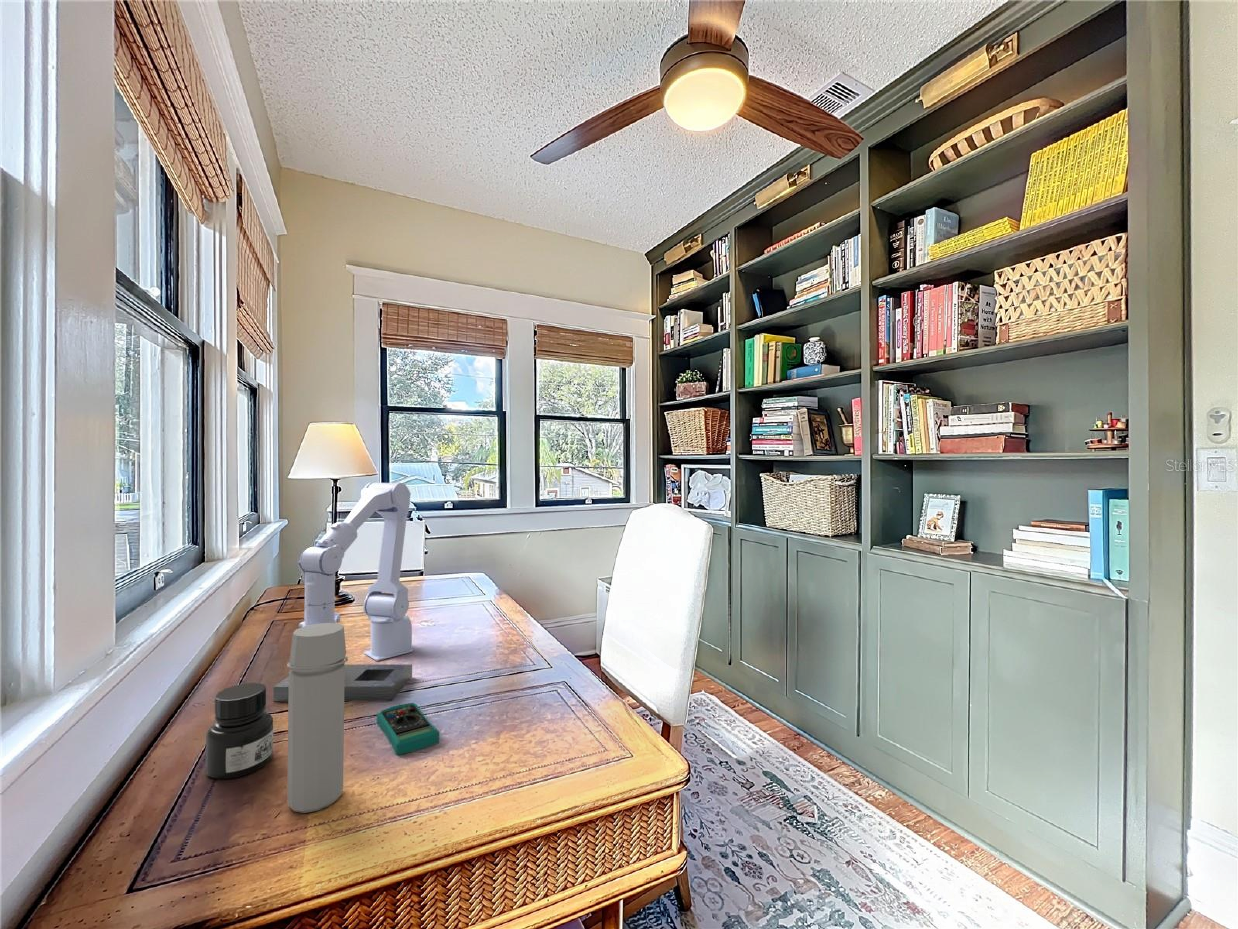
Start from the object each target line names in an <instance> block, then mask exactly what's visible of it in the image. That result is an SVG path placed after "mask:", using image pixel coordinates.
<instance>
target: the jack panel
mask: <svg viewBox="0 0 1238 929" xmlns="http://www.w3.org/2000/svg"><path fill="white" fill-rule="evenodd" d="M412 678H413V664H411V663H410V664H409V663H408V664H395V663H394V664H392V663H391V664H386V663H385V664H377V663H376V664H373V663H372V664H370V663H369V664H365V663H364V664H362V663H361V664H360V663H359V664H345V674H344V702H381V701H382V702H392V701H393V700H394V699H395V698H396V697H397V696H398V694H400V692H402V690H403V689H404V688H405V687H406V685H407V684H408V683H409V682H410V681H411V679H412ZM288 696H289V676H287V677H285V678H284V679H282V680H281V681H280V682H278V683H277V684H275V685H274V686H273V702H288Z"/></svg>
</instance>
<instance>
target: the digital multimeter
mask: <svg viewBox="0 0 1238 929" xmlns="http://www.w3.org/2000/svg"><path fill="white" fill-rule="evenodd" d="M376 724H377V726H378V727H379V728H380V730H382V732H383V733H384V735H385V736H386V738H387V739H388V742H389V743H390V744H391V746H392V749H393V750H394V753H395V755H397V756H401V755H405V754H408V753H412V751H413V752H416V751H419V750H418V749H420V750H423V749H426V748H428V747H427V746H429V747H431V746H434V745H436V744H435V743H437V744H438V743H440V731H439V729H437V727H435V726H434V725H433V724H432V723H431V722H430V721H429V719H428V718H427V717H426V715H424V713H423V712H422V711H421V709H420V708H419V706H418V705H417V704H416V702H411V703H409V702H408V703H404V704H398V705H393V706H391V707H387V708H384V709H382V710H380V711H379V712H378V713H377V714H376ZM433 744H434V745H433ZM425 747H426V748H425ZM422 748H423V749H422ZM415 750H416V751H415ZM404 753H405V754H404Z"/></svg>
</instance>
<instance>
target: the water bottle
mask: <svg viewBox="0 0 1238 929" xmlns="http://www.w3.org/2000/svg"><path fill="white" fill-rule="evenodd" d="M291 637H292V638H291V646H290V655H289V662H287V664H286V666H287V668H288V669H289V672H288V677H289V696H288V701H287V703H288V704H287V706H288V711H287V715H288V716H287V717H288V718H287V722H288V723H287V724H288V725H287V786H286V787H287V794H286V795H287V796H286V797H287V798H286V799H287V803H286V804H287V805H288V806H289V807H290V809H291V810H292V811H293V812H296V813H303V814H305V813H312V812H317V811H318V812H319V811H320V810H322V809H324V808H327V807H329V806H331V805H332V804H333V803H335V801H337V800H338V799H339V798H340V797H341V795H342V793H343V789H344V759H345V758H344V756H345V755H344V752H345V751H344V750H345V749H344V746H345V744H344V742H345V740H344V739H345V737H344V736H345V734H344V733H345V732H344V731H345V723H344V722H345V701H344V674H345V665H346V664H345V663H347V662H348V661H349V657H347V656H346V655H347V647H346V636H345V626H344V625H343V624H341V623H339V622H338V623H320V624H313V625H308V626H304V627H299V628H297V629H295V630H294V631H293V632H292V636H291Z"/></svg>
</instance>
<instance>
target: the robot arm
mask: <svg viewBox="0 0 1238 929" xmlns="http://www.w3.org/2000/svg"><path fill="white" fill-rule="evenodd" d="M410 502H411V491H410V490H409V488H408V486H407V485H406V484H405V483H404V482H394V483H393V482H375V481H374V482H373V481H371V482H368V483H367V484H366V485H365V486H364V488H362V490H361V491H360V499H359V500H358V502H357V503H356V505H355V506H353V508H352V510H351V511H350V513H349V514H348V515H347V516H346V518H345V519H344V521H337V522H335V523H332V524H331V526H330V529H329V530H328V531H327V532H326V533H325V534H324V535H323V536H322V538H320V540H318V541H317V543H316V544H315V545H314V546H311V547H308V548H306V550H304V551H303V552H302V553H301V555H300V558H299V561H297V566H298V569H299V571H300V572H301V577H302V580H303V582H304V616H303V617H304V618H303V619H304V621H301V622H300V623H298V627H299V628H301V627H304V626H308V625H313V624H320V623H338V624H339V623H340V622H341V613H338V612H335V611H336V610H335V606H336V605H335V604H336V598H335V597H336V596H335V595H336V588H335V587H336V572H338V571H339V570H340V568H341V566H342V563H343V559H344V557H345V553H346V552H347V550H348V549H349V548H350V547H351V546H352V544H353V543H354V542H355V541H356V540H357V538H358V531H357V530H359V528H361V526H362V525H363V524H364V523H365V522H366V521H367V520H368V519H369V518H370V517H371V516H372V515H373V514H374V513H375V512H376V514H378V515H380V516H381V517H382V519H383V521H384V523H383V528H382V529H383V530H382V538H381V546H380V547H381V548H380V554H379V563H378V572H377V580H376V581H375V582H374V583H373V584H371V585H370V586H369V587H367V593H366V595H365V596H366V597H365V598H364V601H363V602H362V603H363V606H362V608H363V609H362V610H363V613H364V614H365V615H366V617H367V620H368V621H370V647H369V648H370V649H368V650H365V651H363V653H364V654H365V655H367V656H368V657H370V658H371V659H373V660H374V661H377V662H379V661H381V660H382V661H383V660H385V659H386V660H387V659H390V658H394V657H397V656H400V655H405V654H408V653H412V652H414V649H413V647H412V645H413V643H412V641H413V636H412V635H413V626H412V622H411V620H412V619H410V617H409V616H408V615H406V614H407V612H408V611H409V607H410V601H409V596H408V595H409V589H408V587H407V586H405V585H404V584H403V583H402V582H401V581H400V580H401V579H400V578H401V570H402V563H403V562H402V560H403V552H404V544H405V534H406V526H407V520H408V519H407V517H408V515H409V510H410Z"/></svg>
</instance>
